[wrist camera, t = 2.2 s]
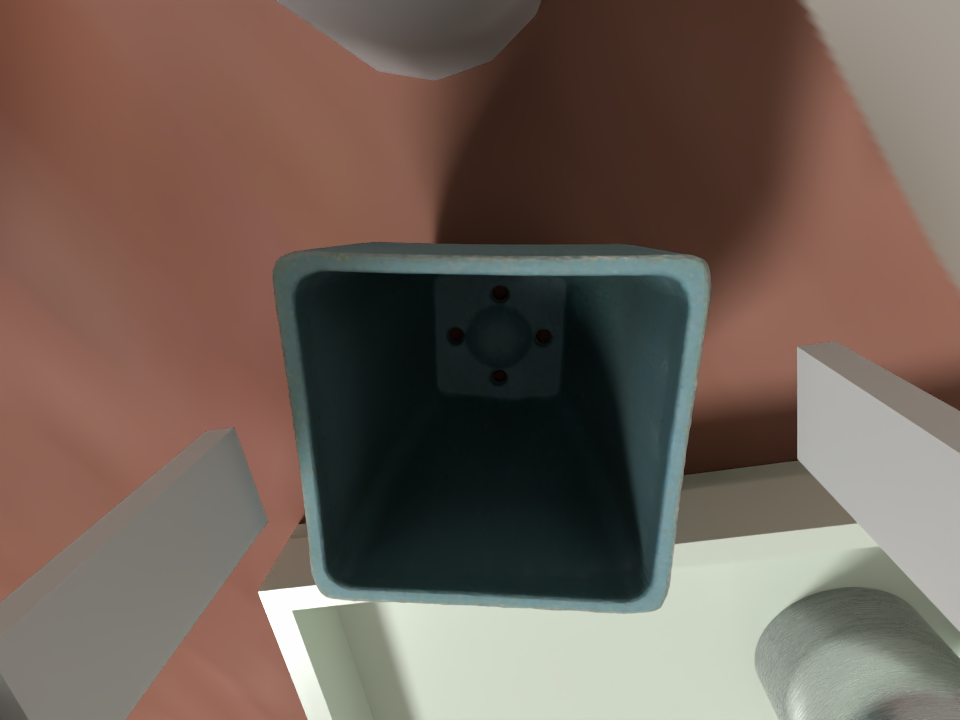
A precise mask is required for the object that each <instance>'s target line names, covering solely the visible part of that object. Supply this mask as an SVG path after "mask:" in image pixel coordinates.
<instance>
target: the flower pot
mask: <svg viewBox="0 0 960 720" xmlns="http://www.w3.org/2000/svg"><path fill="white" fill-rule="evenodd" d="M273 285H274V295H275V301H276V311H277V316H278V321H279V327H280V335H281V342H282V349H283V356H284V363H285V371H286V376H287V382H288V389H289V398H290V405H291V408H292V416H293V427H294V430H295V441H296V447H297V453H298V459H299V466H300V475H301V480H302V491H303V498H304V508H305V517H306V523H307V531H308V541H309V556H310V565H311V573H312V576H313V579H314V581H315V584H316V586H317V588H318V590H319V591H320V592H321V594H323V595H324V596H325V597H328V598H331V599H340V600H350V601H354V602H355V601H366V602H399V603H422V604H441V605H472V606H486V607H501V608H532V609H542V610H553V611H563V610H571V611H589V612H596V613H617V614H627V613H629V614H633V613H646V612H652V611H656V610H658V609H660V608H661V607H662V605H663V603H664V601H665V599H666V597H667V595H668V590H669V587H670V580H671V569H672V563H673V554H674V546H675V540H676V528H677V519H678V512H679V502H680V497H681V487H682V482H683V475H684V466H685V462H686V450H687V445H688V438H689V431H690V427H691V422H692V411H693V406H694V400H695V392H696V389H697V380H698V371H699V367H700V362H701V354H702V347H703V340H704V335H705V329H706V322H707V315H708V310H709V303H710V295H711V273H710V269H709V266H708V264H707V263H706V262H705V260H704V259H702V258H699V257H697V256H694V255H688V254H681V253H676V252H670V251H664V250H659V249H653V248H647V247H641V246H635V245H627V244H550V245H500V244H430V243H393V242H370V243H359V244H351V245H343V246H334V247H326V248H318V249H311V250H303V251H295V252H292V253H289V254H286V255H284V256H282V257H280V258H279V259H278V260H277V261H276V263H275V266H274V269H273ZM497 286H503V287H505V288H506V290H507V296H506V297H505V298H504V299H502V300H499V299H496V298H495V297H494V296H493V293H492V292H493V289H494V288H495V287H497ZM453 328H458V329H460V330H461V331H462V333H463V336H462V338H461V339H460V340H459V341H454V340H452V339H451V338H450V336H449V332H450V330H451V329H453ZM540 330H547V331H549V332H550V335H551V337H550V339H549V340H548V341H547V342H546V343H541V342H539V341H538V340H537V339H536V334H537V332H538V331H540ZM497 370H503V371H504V372H505V373H506V378H505V379H504V380H503V381H496V380H494V378H493V372H495V371H497Z"/></svg>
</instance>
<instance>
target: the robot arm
mask: <svg viewBox="0 0 960 720" xmlns="http://www.w3.org/2000/svg"><path fill="white" fill-rule="evenodd" d="M797 459H798V460H799V461H800V462H801V463H802V464H803V465H804V466H805V468H806V469H807V470H808V471H809V472H810V473H811V474H812V475H813V476H814V477H815V478H816V479H817V480H818V481H819V482H820V484H821V485H822V486H823V487H824V488H825V489H826V490H827V491H828V492H829V493H830V494H831V495H832V496H833V497H834V498H835V500H836V501H837V502H838V503H839V504H840V505H841V506H842V507H843V508H844V509H845V510H846V511H847V512H848V513H849V514H850V515H851V517H852V518H853V519H854V520H855V521H856V522H857V523H858V524H859V525H860V526H861V527H862V528H863V529H864V530H865V531H866V533H867V534H868V535H869V536H870V537H871V538H872V539H873V540H874V541H875V542H876V543H877V544H878V545H879V546H880V547H881V549H882V550H883V551H884V552H885V553H886V554H887V555H888V556H889V557H890V558H891V559H892V560H893V561H894V562H895V563H896V565H897V566H898V567H899V568H900V569H901V570H902V571H903V572H904V573H905V574H906V575H907V576H908V577H909V578H910V579H911V580H912V582H913V583H914V584H915V585H916V586H917V587H918V588H919V589H920V590H921V591H922V592H923V593H924V594H925V595H926V596H927V598H928V599H929V600H930V601H931V602H932V603H933V604H934V605H935V606H936V607H937V608H938V609H939V610H940V611H941V612H942V614H943V615H944V616H945V617H946V618H947V619H948V620H949V621H950V622H951V623H952V624H953V625H954V626H955V627H956V628H957V630H958V631H959V632H960V411H959V410H957V409H955V408H954V407H952V406H950V405H948V404H946V403H945V402H943V401H941V400H939V399H937V398H936V397H934V396H932V395H930V394H929V393H927V392H925V391H923V390H921V389H920V388H918V387H916V386H914V385H912V384H911V383H909V382H907V381H905V380H904V379H902V378H900V377H898V376H896V375H895V374H893V373H891V372H889V371H887V370H886V369H884V368H882V367H880V366H878V365H877V364H875V363H873V362H871V361H870V360H868V359H866V358H864V357H862V356H861V355H859V354H857V353H855V352H853V351H852V350H850V349H848V348H846V347H844V346H843V345H841V344H839V343H837V342H836V341H833V342H826V343H819V344H812V345H805V346H798V347H797ZM267 522H268V520H267V517H266V514H265V511H264V509H263V506H262V503H261V500H260V497H259V495H258V492H257V489H256V486H255V484H254V481H253V478H252V475H251V472H250V470H249V467H248V464H247V461H246V458H245V456H244V453H243V450H242V447H241V445H240V442H239V439H238V436H237V433H236V431H235V428H234V427H233V428H226V429H219V430H212V431H206V432H204V433H203V434H202V435H201V436H200V437H198V438H197V439H196V440H195V441H194V442H192V443H191V444H190V445H189V446H188V447H186V448H185V449H184V450H183V451H182V452H180V453H179V454H178V455H177V456H176V457H174V458H173V459H172V460H171V461H170V462H168V463H167V464H166V465H165V466H164V467H162V468H161V469H160V470H159V471H158V472H156V473H155V474H154V475H153V476H152V477H150V478H149V479H148V480H147V481H146V482H144V483H143V484H142V485H141V486H140V487H138V488H137V489H136V490H135V491H134V492H132V493H131V494H130V495H129V496H127V497H126V498H125V499H124V500H123V501H121V502H120V503H119V504H118V505H117V506H115V507H114V508H113V509H112V510H111V511H109V512H108V513H107V514H106V515H105V516H103V517H102V518H101V519H100V520H99V521H97V522H96V523H95V524H94V525H93V526H91V527H90V528H89V529H88V530H87V531H85V532H84V533H83V534H82V535H81V536H79V537H78V538H77V539H76V540H75V541H73V542H72V543H71V544H70V545H69V546H67V547H66V548H65V549H64V550H63V551H61V552H60V553H59V554H58V555H57V556H55V557H54V558H53V559H52V560H51V561H49V562H48V563H47V564H46V565H45V566H43V567H42V568H41V569H40V570H39V571H37V572H36V573H35V574H34V575H33V576H31V577H30V578H29V579H28V580H27V581H25V582H24V583H23V584H22V585H21V586H19V587H18V588H17V589H16V590H15V591H13V592H12V593H11V594H10V595H9V596H7V597H6V598H5V599H4V600H3V601H1V602H0V720H126V718H127V717H128V715H129V714H130V713H131V711H132V710H133V709H134V707H135V706H136V704H137V703H138V702H139V700H140V699H141V697H142V696H143V695H144V693H145V692H146V690H147V689H148V688H149V686H150V685H151V684H152V682H153V681H154V679H155V678H156V677H157V675H158V674H159V672H160V671H161V670H162V668H163V667H164V665H165V664H166V663H167V661H168V660H169V659H170V657H171V656H172V654H173V653H174V652H175V650H176V649H177V647H178V646H179V645H180V643H181V642H182V640H183V639H184V638H185V636H186V635H187V634H188V632H189V631H190V629H191V628H192V627H193V625H194V624H195V622H196V621H197V620H198V618H199V617H200V615H201V614H202V613H203V611H204V610H205V609H206V607H207V606H208V604H209V603H210V602H211V600H212V599H213V597H214V596H215V595H216V593H217V592H218V590H219V589H220V588H221V586H222V585H223V584H224V582H225V581H226V579H227V578H228V577H229V575H230V574H231V572H232V571H233V570H234V568H235V567H236V565H237V564H238V563H239V561H240V560H241V559H242V557H243V556H244V554H245V553H246V552H247V550H248V549H249V547H250V546H251V545H252V543H253V542H254V540H255V539H256V538H257V536H258V535H259V533H260V532H261V531H262V529H263V528H264V527H265V525H266V524H267Z"/></svg>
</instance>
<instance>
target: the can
mask: <svg viewBox="0 0 960 720" xmlns="http://www.w3.org/2000/svg"><path fill="white" fill-rule="evenodd" d="M754 662H755V669H756V673H757V676H758V678H759V680H760V682H761V684H762V686H763V689H764V691H765V693H766V695H767V697H768V699H769V701H770V703H771V705H772V707H773V709H774V711H775V714H776V716H777V718H778V720H960V658H959V657H958V656H957V655H956V654H955V652H954V651H953V650H952V649H951V648H950V647H949V646H948V645H947V644H946V643H945V641H944V640H943V639H942V638H941V637H940V636H939V635H938V634H937V633H936V632H935V630H934V629H933V628H932V627H931V626H930V625H929V624H928V623H927V622H926V620H925V619H924V618H923V617H922V616H921V615H920V614H919V613H918V612H917V611H916V609H915V608H914V607H913V606H911V605H910V604H909V603H908V602H906V601H905V600H903V599H901V598H900V597H898V596H896V595H893V594H891V593H888V592H885V591H882V590H878V589H872V588H865V587H844V588H836V589H830V590H826V591H822V592H818V593H815V594H813V595H810V596H807V597H805V598H803V599H801V600H799V601H797V602H795V603H793V604H792V605H790V606H788V607H787V608H785V609H784V610H783V611H781V612H780V613H779V614H778V615H777V616H776V617H775V618H774V619H773V620H772V621H771V622H770V623H769V624H768V625H767V627H766V628H765V629H764V631H763V633H762V634H761V636H760V638H759V641H758V643H757V646H756V650H755V659H754Z"/></svg>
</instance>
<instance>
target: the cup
mask: <svg viewBox="0 0 960 720" xmlns="http://www.w3.org/2000/svg"><path fill="white" fill-rule="evenodd" d="M276 1H277V2H279V3H280V4H282V5H283V6H285V7H286V8H288V9H289V10H290V11H292V12H293V13H295V14H296V15H298V16H299V17H301V18H302V19H303V20H305V21H306V22H308V23H309V24H311V25H312V26H314V27H315V28H316V29H318V30H319V31H321V32H322V33H324V34H325V35H327V36H328V37H329V38H331V39H332V40H334V41H335V42H337V43H338V44H340V45H341V46H342V47H344V48H345V49H347V50H348V51H350V52H351V53H353V54H354V55H355V56H357V57H358V58H360V59H361V60H363V61H364V62H366V63H367V64H368V65H370V66H371V67H373V68H374V69H376V70H377V71H379V72H385V73H391V74H397V75H403V76H409V77H415V78H421V79H427V80H433V81H437V80H439V79H442V78H445V77H448V76H451V75H454V74H457V73H459V72H462V71H465V70H468V69H471V68H474V67H477V66H479V65H482V64H485V63H488V62H491V61H492V60H493V59H494V58H495V57H496V56H497V55H498V54H499V53H500V52H501V51H502V50H503V49H504V48H505V47H506V46H507V45H508V44H509V42H510V41H511V40H512V39H513V38H514V37H515V36H516V35H517V34H518V33H519V32H520V31H521V30H522V29H523V28H524V27H525V26H526V25H527V24H528V23H529V22H530V21H531V20H532V19H533V18H534V17H535V16H536V14H537V11H538V9H539V6H540V3H541V1H542V0H276Z"/></svg>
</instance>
